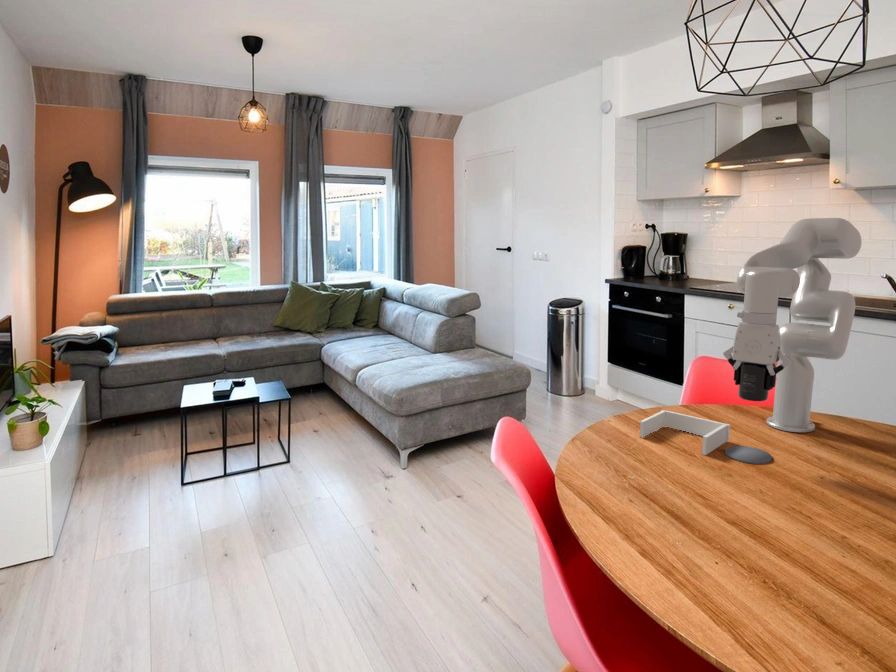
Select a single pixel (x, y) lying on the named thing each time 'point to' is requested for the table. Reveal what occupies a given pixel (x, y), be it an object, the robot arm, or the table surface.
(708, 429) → the white u-shaped bracket
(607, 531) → the table surface
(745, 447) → the mat
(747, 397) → the supplement bottle
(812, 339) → the robot arm
